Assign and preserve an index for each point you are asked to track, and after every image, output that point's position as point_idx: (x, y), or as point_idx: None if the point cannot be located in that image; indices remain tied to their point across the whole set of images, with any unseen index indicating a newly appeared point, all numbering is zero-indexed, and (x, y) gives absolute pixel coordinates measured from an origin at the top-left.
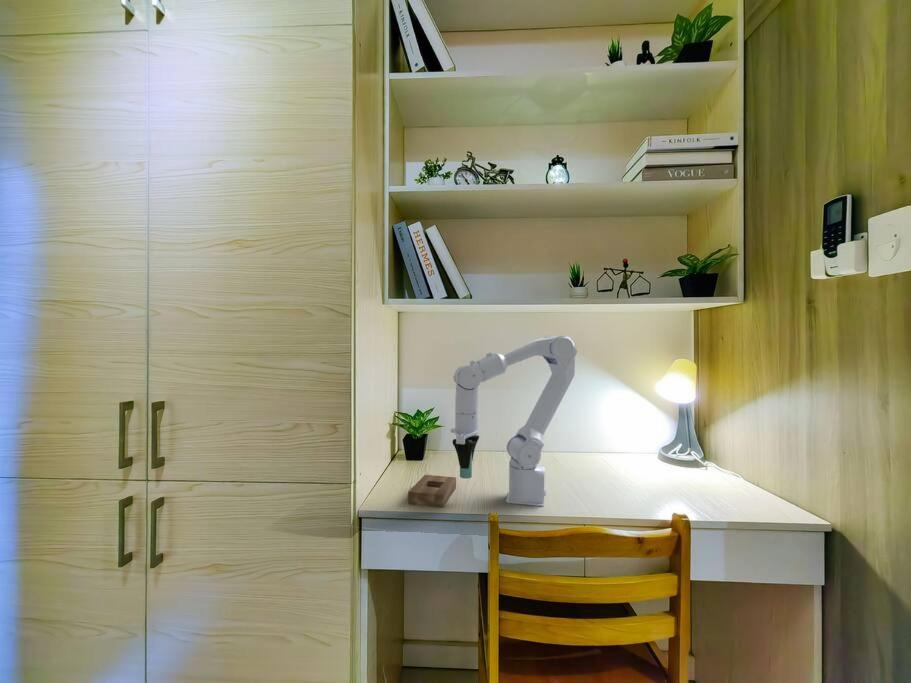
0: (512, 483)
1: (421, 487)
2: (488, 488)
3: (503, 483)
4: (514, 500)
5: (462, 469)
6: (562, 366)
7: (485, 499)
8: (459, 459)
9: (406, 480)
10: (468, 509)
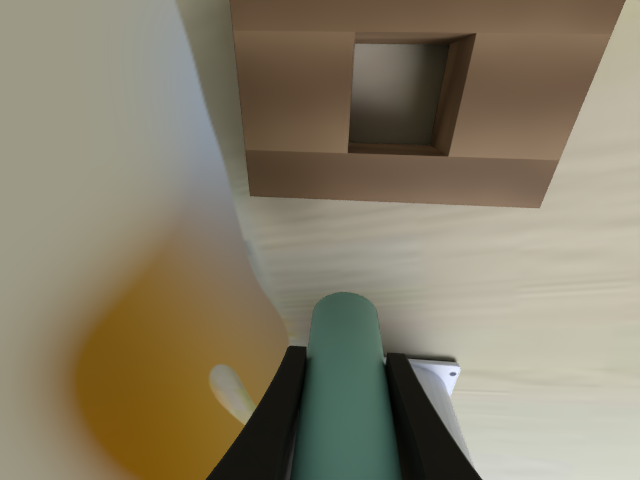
0: None
1: (328, 30)
2: (507, 306)
3: (563, 346)
4: None
5: (310, 343)
6: None
7: (388, 303)
8: (265, 401)
9: None
10: (285, 264)
